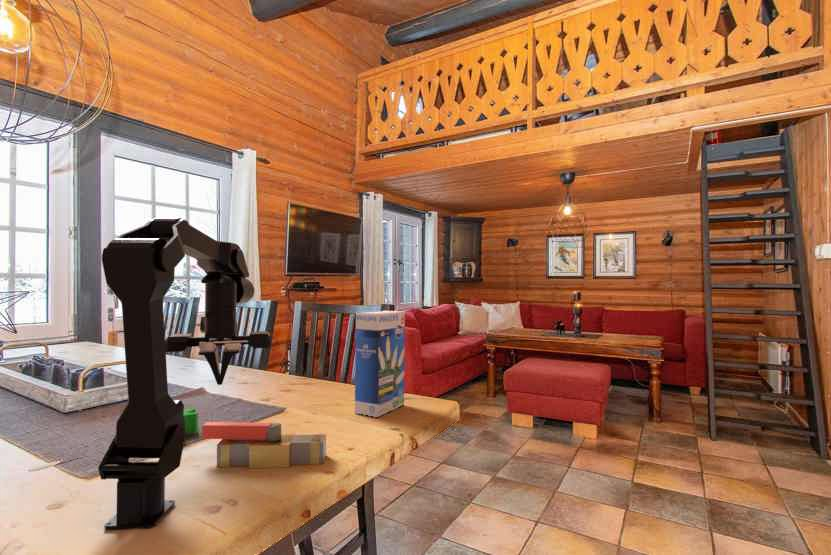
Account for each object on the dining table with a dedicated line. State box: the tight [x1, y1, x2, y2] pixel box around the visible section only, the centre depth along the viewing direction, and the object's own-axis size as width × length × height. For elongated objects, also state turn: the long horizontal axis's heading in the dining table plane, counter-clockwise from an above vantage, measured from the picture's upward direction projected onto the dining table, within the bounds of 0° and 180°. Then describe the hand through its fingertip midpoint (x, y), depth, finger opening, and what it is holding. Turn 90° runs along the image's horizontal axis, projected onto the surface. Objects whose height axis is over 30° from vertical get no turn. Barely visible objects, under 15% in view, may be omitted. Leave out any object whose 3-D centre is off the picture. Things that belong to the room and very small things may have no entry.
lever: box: [201, 421, 282, 441], centre depth 80 cm, size 14×3×3 cm, turn 90°
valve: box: [216, 432, 327, 469], centre depth 80 cm, size 6×19×4 cm, turn 95°
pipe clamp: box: [184, 407, 199, 435], centre depth 92 cm, size 11×4×5 cm, turn 173°
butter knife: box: [27, 459, 63, 472], centre depth 86 cm, size 1×27×3 cm
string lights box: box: [354, 310, 406, 418], centre depth 113 cm, size 13×8×26 cm, turn 150°
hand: (220, 384), depth 85 cm, fingers closed
